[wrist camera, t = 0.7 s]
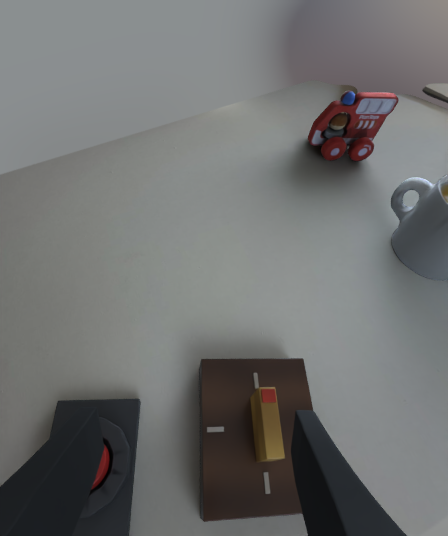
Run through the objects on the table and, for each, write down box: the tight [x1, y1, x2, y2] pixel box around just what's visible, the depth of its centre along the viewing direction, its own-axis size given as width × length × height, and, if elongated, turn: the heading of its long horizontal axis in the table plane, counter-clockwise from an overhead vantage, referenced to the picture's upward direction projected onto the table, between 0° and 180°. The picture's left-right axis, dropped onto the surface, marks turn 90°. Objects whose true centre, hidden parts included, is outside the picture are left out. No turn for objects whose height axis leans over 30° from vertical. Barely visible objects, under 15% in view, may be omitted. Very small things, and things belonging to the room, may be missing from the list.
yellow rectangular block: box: [250, 387, 285, 462], centre depth 26 cm, size 5×1×4 cm, turn 3°
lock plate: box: [199, 358, 313, 522], centre depth 28 cm, size 12×10×3 cm
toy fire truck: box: [308, 91, 398, 161], centre depth 53 cm, size 7×12×10 cm, turn 99°
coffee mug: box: [391, 175, 448, 280], centre depth 43 cm, size 13×10×10 cm
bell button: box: [91, 444, 110, 490], centre depth 24 cm, size 4×4×2 cm
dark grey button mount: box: [49, 399, 140, 536], centre depth 25 cm, size 10×7×3 cm
